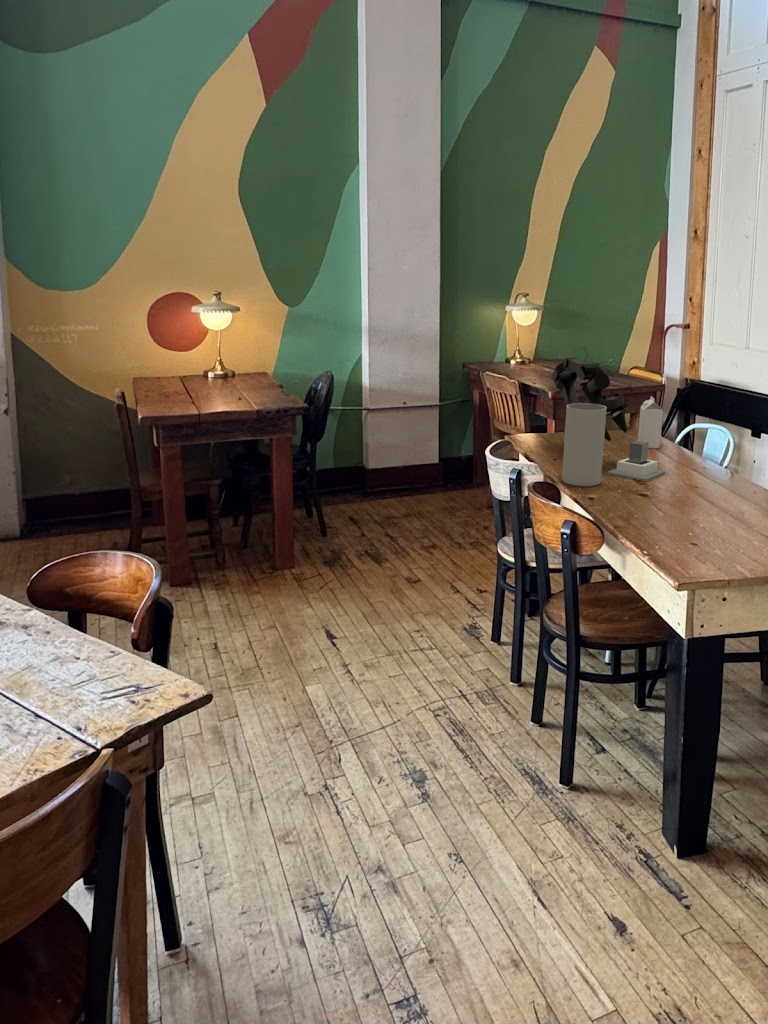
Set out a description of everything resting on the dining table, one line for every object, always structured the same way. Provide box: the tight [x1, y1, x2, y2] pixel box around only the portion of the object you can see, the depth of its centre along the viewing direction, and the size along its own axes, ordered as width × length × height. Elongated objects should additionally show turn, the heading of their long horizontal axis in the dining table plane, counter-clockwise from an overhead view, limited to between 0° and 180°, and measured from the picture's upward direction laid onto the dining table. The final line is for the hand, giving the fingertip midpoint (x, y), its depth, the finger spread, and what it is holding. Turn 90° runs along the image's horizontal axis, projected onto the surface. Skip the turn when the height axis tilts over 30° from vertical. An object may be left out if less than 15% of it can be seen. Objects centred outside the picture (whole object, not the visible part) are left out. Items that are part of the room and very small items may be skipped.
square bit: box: [628, 440, 649, 465], centre depth 298 cm, size 4×4×10 cm
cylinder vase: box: [561, 402, 607, 488], centre depth 286 cm, size 12×12×25 cm
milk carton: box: [637, 395, 664, 449], centre depth 338 cm, size 7×7×19 cm
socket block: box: [607, 457, 666, 482], centre depth 299 cm, size 14×14×4 cm
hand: (618, 436), depth 304 cm, fingers open, 9 cm apart
